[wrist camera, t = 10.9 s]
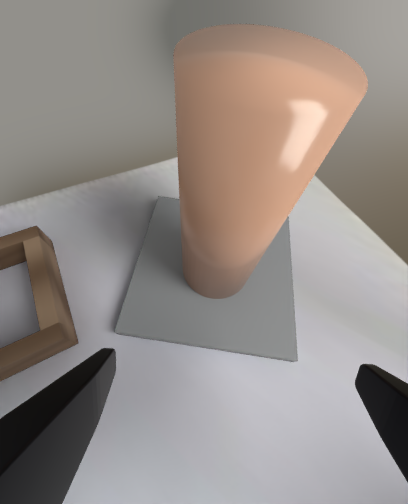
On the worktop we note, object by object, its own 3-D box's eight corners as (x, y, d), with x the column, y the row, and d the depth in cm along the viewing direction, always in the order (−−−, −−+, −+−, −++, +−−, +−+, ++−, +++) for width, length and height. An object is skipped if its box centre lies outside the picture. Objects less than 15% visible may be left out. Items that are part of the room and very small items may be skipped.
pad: (292, 361, 17) (297, 360, 17) (117, 334, 18) (114, 331, 17) (284, 221, 24) (288, 215, 23) (159, 202, 25) (158, 196, 24)
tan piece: (250, 301, 19) (399, 126, 6) (178, 296, 18) (159, 102, 5) (246, 218, 23) (324, 9, 10) (188, 213, 23) (190, -6, 10)
